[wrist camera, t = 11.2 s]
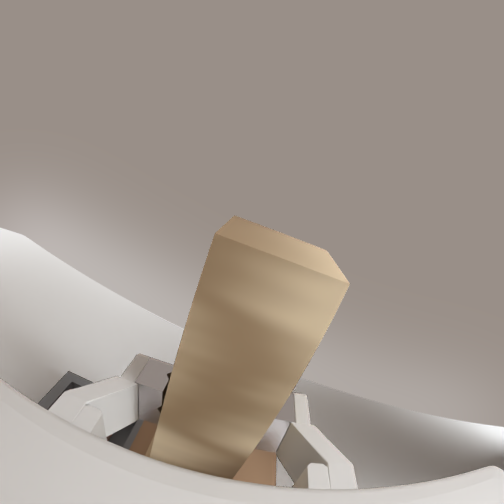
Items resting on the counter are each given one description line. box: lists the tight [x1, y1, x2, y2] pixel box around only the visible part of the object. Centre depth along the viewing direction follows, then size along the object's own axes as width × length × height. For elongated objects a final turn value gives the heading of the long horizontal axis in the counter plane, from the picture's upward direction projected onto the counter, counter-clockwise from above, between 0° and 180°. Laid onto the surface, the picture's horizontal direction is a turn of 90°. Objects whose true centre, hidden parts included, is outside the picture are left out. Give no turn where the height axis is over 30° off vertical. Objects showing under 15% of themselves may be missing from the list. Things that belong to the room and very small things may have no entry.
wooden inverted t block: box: [145, 216, 350, 479], centre depth 9 cm, size 4×14×14 cm, turn 175°
